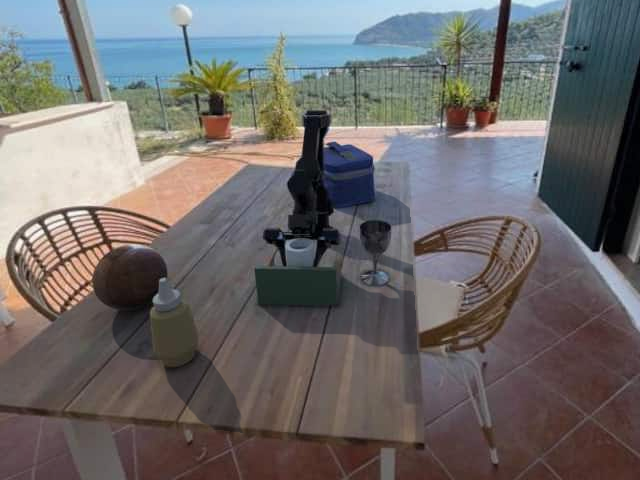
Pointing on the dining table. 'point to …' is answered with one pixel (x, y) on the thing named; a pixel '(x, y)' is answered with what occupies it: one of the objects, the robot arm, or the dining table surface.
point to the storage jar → (300, 252)
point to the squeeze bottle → (172, 327)
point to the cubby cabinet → (297, 284)
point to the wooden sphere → (128, 277)
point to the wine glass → (375, 248)
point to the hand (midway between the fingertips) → (299, 270)
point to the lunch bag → (348, 174)
